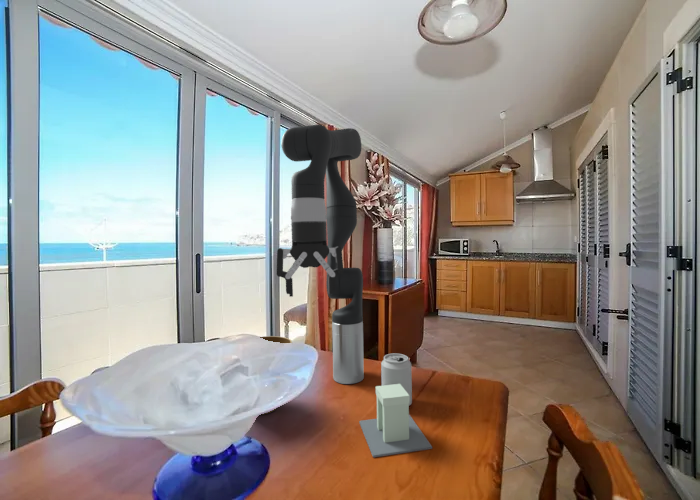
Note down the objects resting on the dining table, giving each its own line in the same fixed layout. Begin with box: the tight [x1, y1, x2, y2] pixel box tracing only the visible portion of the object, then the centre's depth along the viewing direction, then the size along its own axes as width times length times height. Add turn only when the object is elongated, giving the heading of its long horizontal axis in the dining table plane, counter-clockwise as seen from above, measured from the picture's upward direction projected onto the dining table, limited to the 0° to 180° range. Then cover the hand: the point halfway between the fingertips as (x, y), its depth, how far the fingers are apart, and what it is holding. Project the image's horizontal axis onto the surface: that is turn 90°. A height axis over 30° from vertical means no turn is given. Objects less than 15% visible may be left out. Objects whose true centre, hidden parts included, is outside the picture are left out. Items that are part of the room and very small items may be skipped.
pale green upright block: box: [375, 384, 410, 443], centre depth 67 cm, size 6×6×9 cm
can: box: [380, 352, 413, 406], centre depth 80 cm, size 8×8×12 cm
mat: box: [359, 414, 433, 458], centre depth 67 cm, size 12×12×1 cm
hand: (310, 294), depth 69 cm, fingers open, 8 cm apart
